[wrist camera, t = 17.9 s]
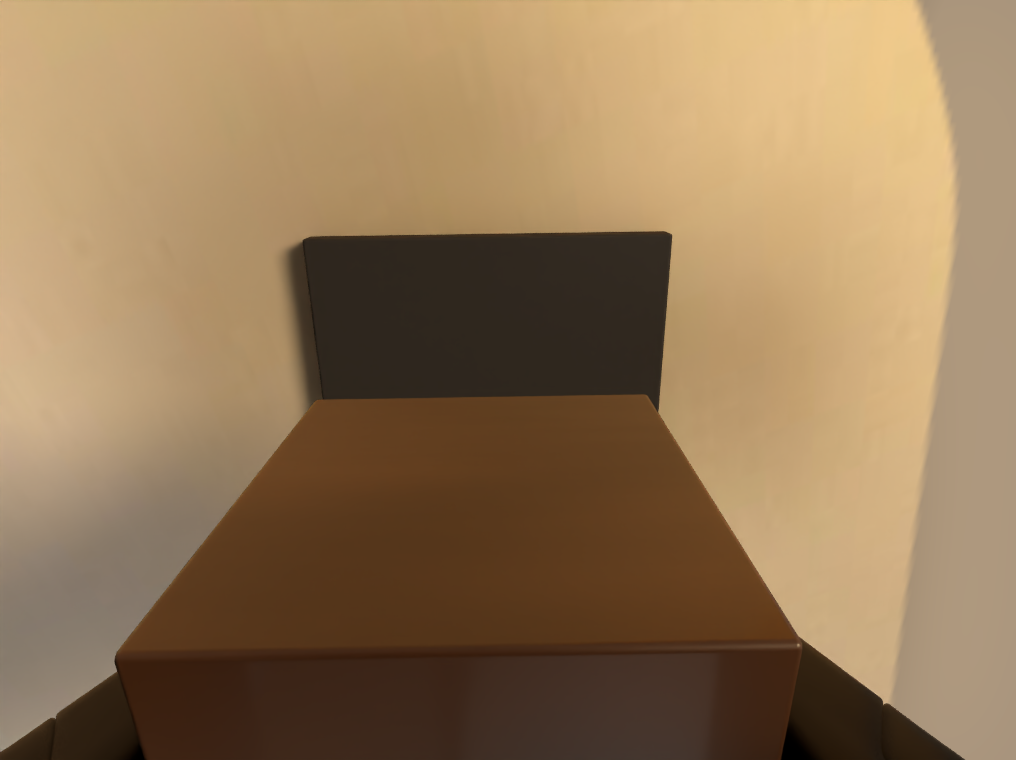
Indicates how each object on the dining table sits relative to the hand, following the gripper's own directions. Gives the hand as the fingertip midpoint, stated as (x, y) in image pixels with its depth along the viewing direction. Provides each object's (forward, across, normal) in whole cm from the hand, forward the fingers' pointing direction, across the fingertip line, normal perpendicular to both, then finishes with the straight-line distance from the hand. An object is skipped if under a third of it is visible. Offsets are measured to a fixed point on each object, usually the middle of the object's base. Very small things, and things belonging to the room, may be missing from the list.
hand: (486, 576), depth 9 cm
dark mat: (+8, 0, 0) cm, 8 cm away
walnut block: (+1, 0, 0) cm, 1 cm away
